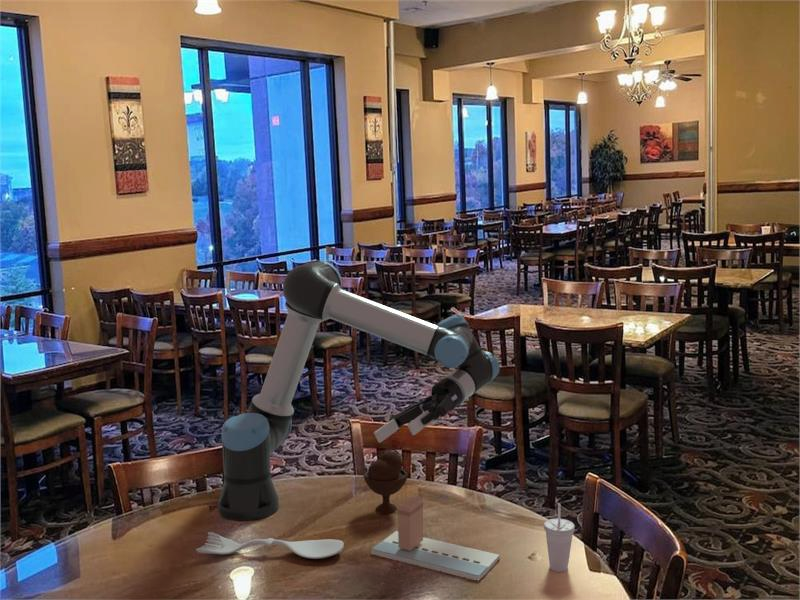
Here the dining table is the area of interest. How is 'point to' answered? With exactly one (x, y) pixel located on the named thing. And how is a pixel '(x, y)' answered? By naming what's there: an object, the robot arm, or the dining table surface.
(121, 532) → the dining table surface
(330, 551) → the spoon
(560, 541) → the smoothie
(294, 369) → the robot arm
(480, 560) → the board
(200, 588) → the dining table surface
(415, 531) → the small tan carton
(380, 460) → the ice cream bowl
